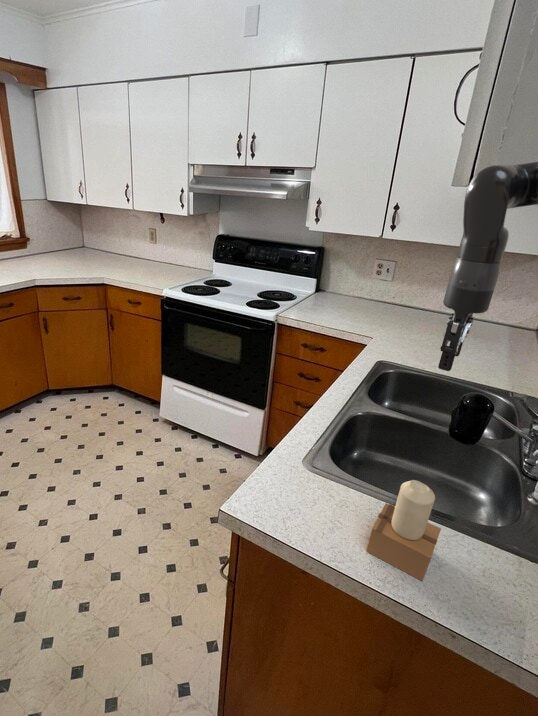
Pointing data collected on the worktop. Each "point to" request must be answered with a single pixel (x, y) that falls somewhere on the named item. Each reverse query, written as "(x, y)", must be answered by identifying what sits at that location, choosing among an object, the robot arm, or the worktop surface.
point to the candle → (412, 509)
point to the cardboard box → (402, 545)
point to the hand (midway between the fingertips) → (448, 361)
